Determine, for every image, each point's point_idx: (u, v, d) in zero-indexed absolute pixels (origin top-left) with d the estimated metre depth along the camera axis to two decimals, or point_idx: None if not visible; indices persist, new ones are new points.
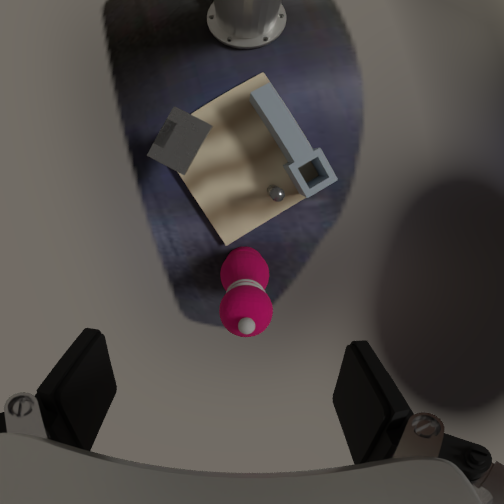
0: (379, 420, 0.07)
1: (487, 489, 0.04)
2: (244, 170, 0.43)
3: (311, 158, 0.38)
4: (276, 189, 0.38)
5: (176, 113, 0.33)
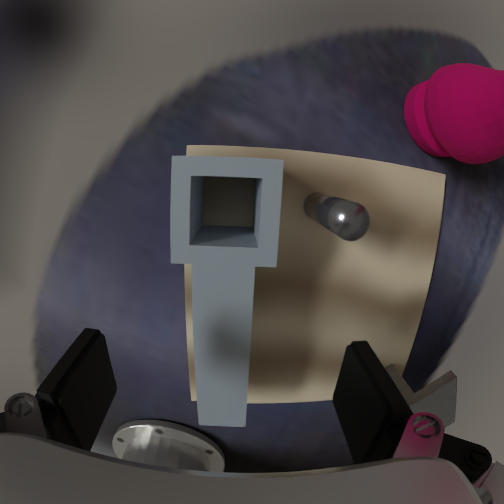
0: (379, 420, 0.07)
1: (487, 489, 0.04)
2: (337, 276, 0.20)
3: (208, 250, 0.14)
4: (346, 236, 0.13)
5: None
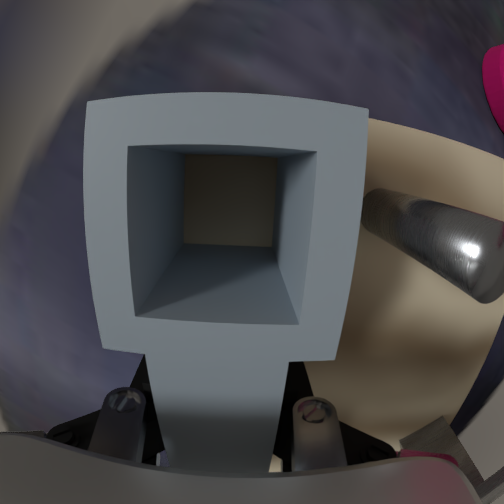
0: None
1: None
2: (398, 321, 0.12)
3: (178, 329, 0.06)
4: (483, 296, 0.05)
5: None
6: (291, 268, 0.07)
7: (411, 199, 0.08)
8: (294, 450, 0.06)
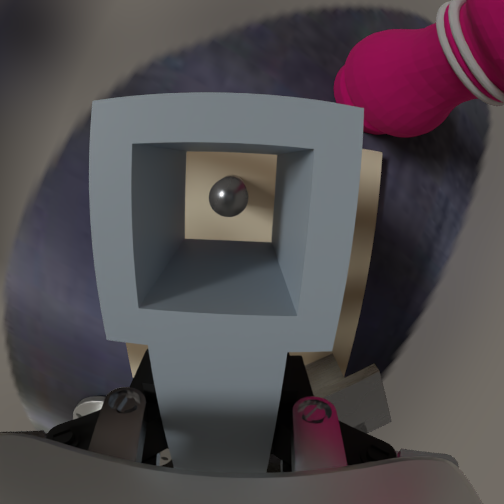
0: None
1: None
2: None
3: (181, 320, 0.06)
4: (223, 212, 0.14)
5: None
6: (290, 262, 0.07)
7: None
8: (294, 450, 0.06)
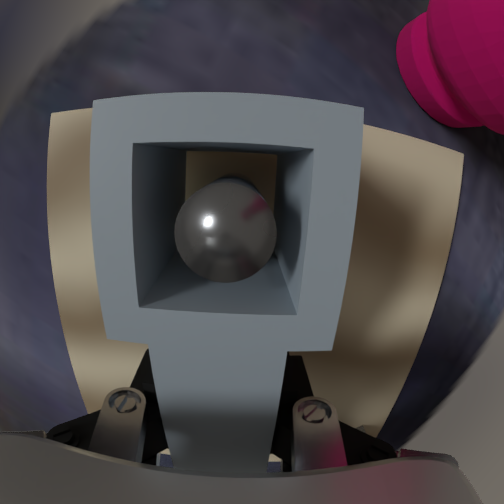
0: None
1: None
2: None
3: (181, 319, 0.06)
4: (211, 271, 0.05)
5: None
6: (290, 261, 0.07)
7: (219, 177, 0.08)
8: (294, 450, 0.06)
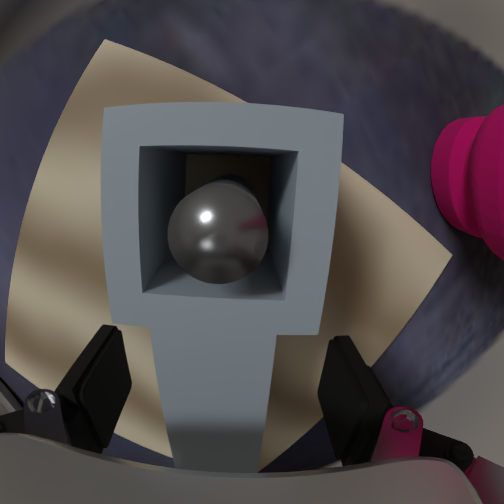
0: (357, 413, 0.07)
1: (471, 485, 0.04)
2: None
3: (180, 303, 0.06)
4: (189, 264, 0.05)
5: None
6: (280, 253, 0.08)
7: (228, 177, 0.08)
8: None
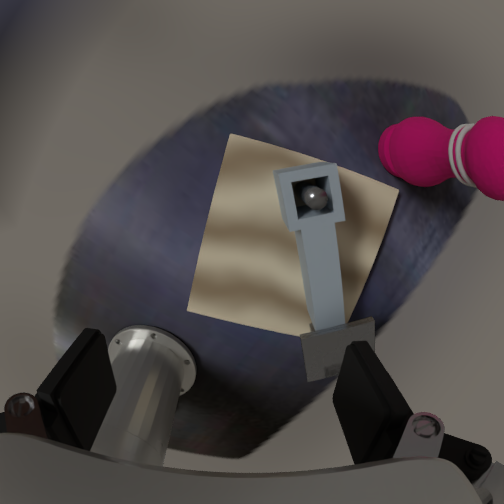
0: (379, 420, 0.07)
1: (487, 489, 0.04)
2: None
3: (308, 219, 0.25)
4: (312, 206, 0.24)
5: (313, 375, 0.27)
6: (328, 202, 0.26)
7: (306, 184, 0.27)
8: None
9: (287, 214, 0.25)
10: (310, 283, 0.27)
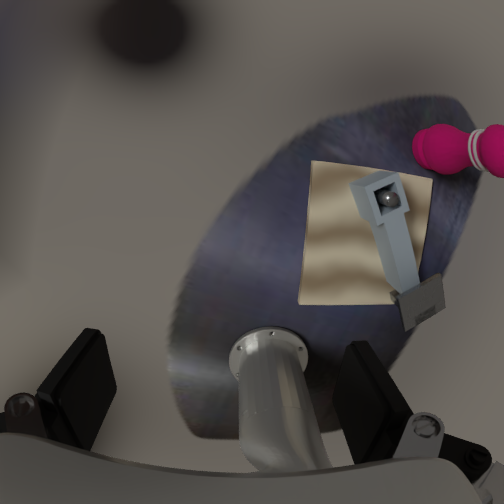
0: (379, 420, 0.07)
1: (487, 489, 0.04)
2: None
3: (387, 214, 0.33)
4: (390, 205, 0.32)
5: (408, 325, 0.35)
6: None
7: (377, 189, 0.35)
8: None
9: (374, 214, 0.33)
10: (394, 259, 0.35)
